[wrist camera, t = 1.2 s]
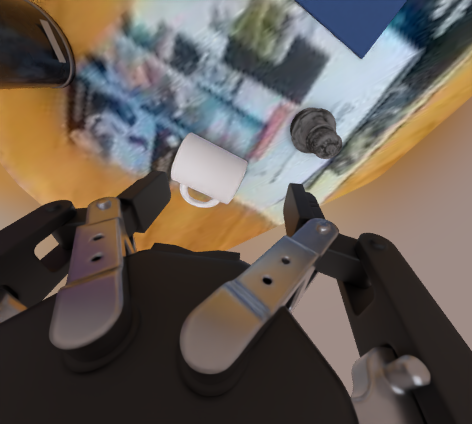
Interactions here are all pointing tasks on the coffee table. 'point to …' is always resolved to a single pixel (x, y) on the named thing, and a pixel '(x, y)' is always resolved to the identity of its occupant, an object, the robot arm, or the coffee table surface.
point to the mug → (207, 171)
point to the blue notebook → (354, 19)
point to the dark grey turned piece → (316, 133)
